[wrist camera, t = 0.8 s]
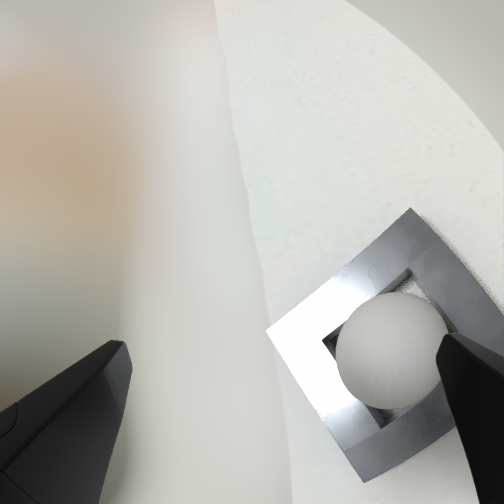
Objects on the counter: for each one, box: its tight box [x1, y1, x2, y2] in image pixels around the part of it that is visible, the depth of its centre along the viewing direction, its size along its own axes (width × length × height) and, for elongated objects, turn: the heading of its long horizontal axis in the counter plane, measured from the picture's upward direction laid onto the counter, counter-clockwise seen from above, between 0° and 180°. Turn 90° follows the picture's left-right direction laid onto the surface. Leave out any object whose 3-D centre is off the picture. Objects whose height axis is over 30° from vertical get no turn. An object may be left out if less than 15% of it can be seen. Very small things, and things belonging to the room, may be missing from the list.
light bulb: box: [336, 292, 448, 409], centre depth 15 cm, size 6×6×10 cm
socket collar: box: [266, 208, 504, 483], centre depth 18 cm, size 14×14×2 cm
